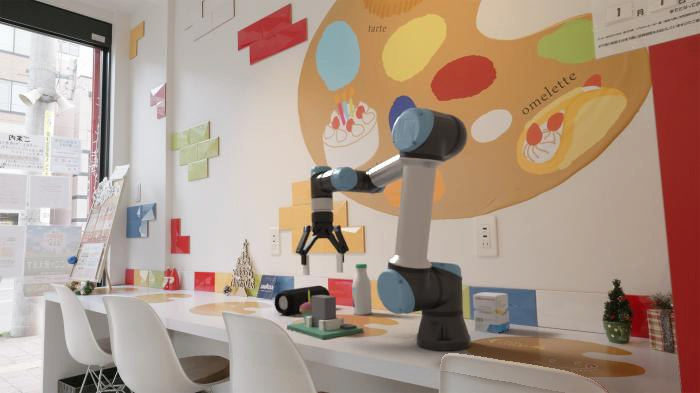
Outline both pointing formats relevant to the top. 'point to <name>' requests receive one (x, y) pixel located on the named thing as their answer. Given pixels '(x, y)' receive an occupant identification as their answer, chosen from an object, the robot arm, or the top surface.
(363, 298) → the milk bottle
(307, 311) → the cupcake
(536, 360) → the top surface
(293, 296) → the portable speaker
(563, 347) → the top surface
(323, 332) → the board
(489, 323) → the ink box
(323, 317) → the block
